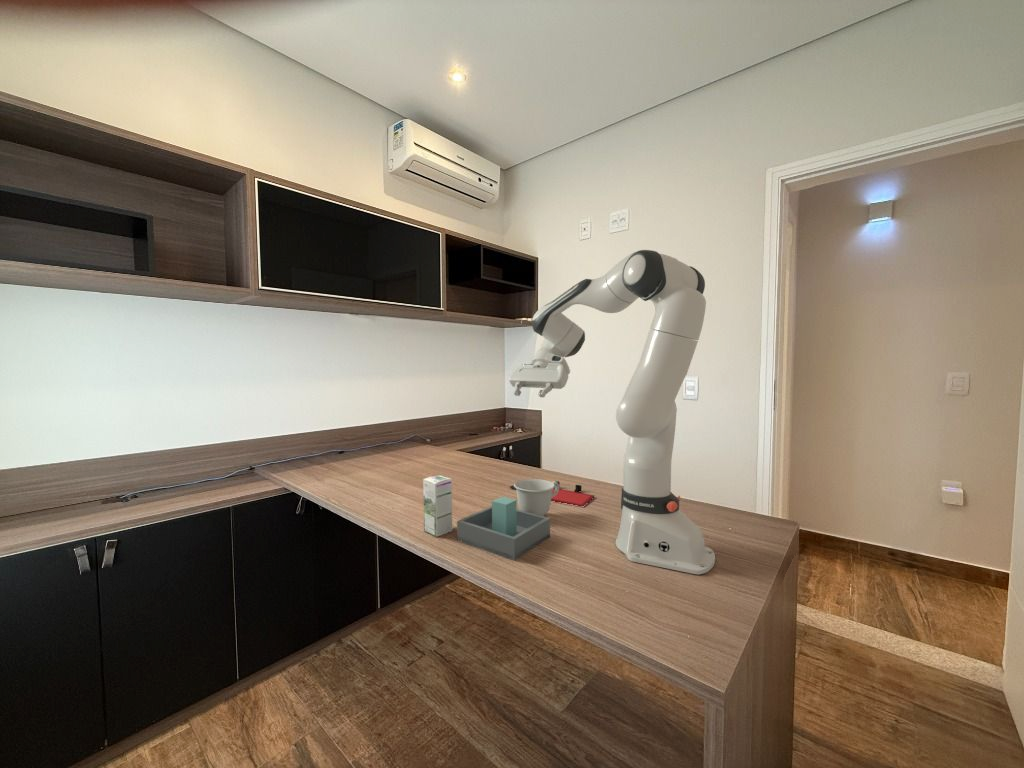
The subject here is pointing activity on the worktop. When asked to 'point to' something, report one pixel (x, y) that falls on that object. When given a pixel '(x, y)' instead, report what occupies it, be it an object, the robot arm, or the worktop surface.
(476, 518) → the tote
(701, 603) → the worktop surface
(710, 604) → the worktop surface
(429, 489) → the syrup box
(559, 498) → the red flat slab
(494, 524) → the teal block
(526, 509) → the teacup
